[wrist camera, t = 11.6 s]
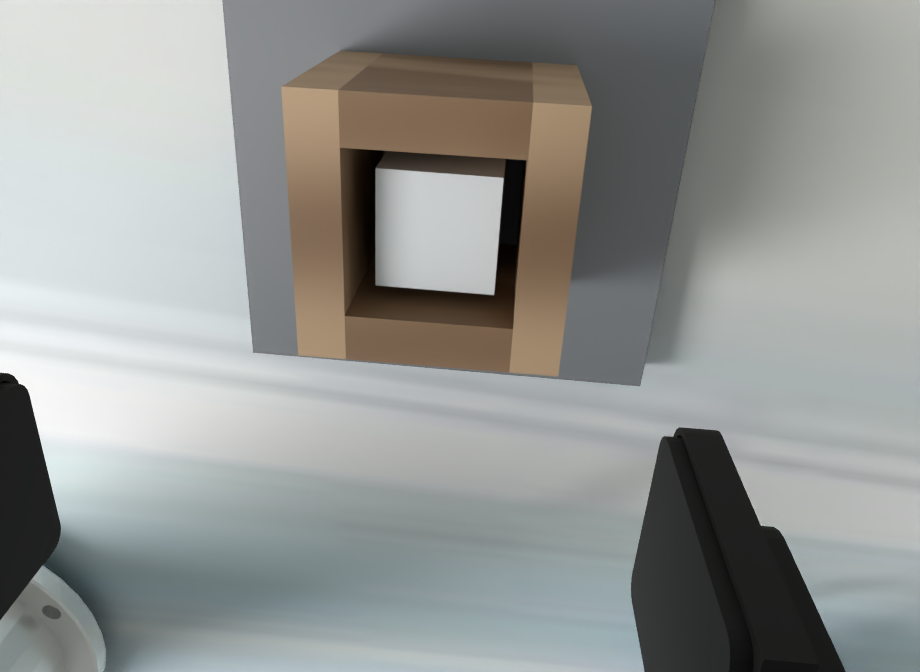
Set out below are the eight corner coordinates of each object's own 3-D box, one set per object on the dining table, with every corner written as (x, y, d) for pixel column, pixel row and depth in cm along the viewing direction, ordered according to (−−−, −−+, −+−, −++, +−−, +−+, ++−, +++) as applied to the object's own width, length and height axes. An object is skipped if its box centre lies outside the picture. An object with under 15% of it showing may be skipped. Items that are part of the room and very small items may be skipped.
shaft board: (635, 364, 28) (661, 474, 22) (266, 333, 29) (200, 431, 23) (714, -58, 22) (780, -55, 16) (233, -86, 22) (131, -94, 17)
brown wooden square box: (552, 284, 25) (558, 376, 20) (345, 268, 26) (298, 355, 20) (577, 65, 22) (591, 105, 17) (339, 50, 22) (280, 86, 17)
